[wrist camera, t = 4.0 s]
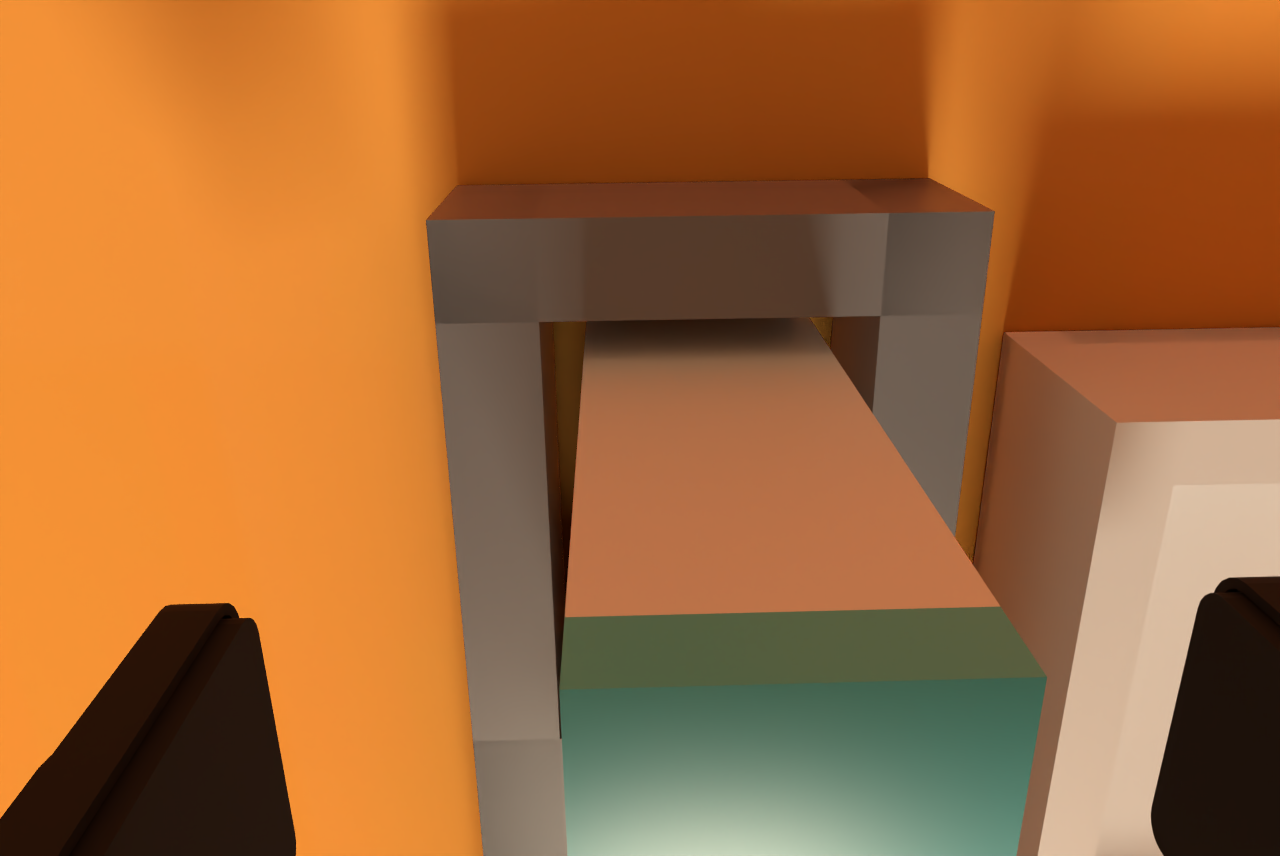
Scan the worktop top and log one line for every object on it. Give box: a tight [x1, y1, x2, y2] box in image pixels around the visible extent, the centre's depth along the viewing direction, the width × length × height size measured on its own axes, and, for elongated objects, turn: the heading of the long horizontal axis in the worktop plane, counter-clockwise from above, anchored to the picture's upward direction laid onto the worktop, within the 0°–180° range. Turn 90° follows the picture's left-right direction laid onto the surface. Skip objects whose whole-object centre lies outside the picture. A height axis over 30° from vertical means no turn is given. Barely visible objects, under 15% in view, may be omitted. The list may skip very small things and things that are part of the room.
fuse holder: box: [426, 178, 995, 856], centre depth 16 cm, size 17×6×2 cm, turn 1°
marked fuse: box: [559, 317, 1047, 856], centre depth 11 cm, size 5×3×9 cm, turn 0°
